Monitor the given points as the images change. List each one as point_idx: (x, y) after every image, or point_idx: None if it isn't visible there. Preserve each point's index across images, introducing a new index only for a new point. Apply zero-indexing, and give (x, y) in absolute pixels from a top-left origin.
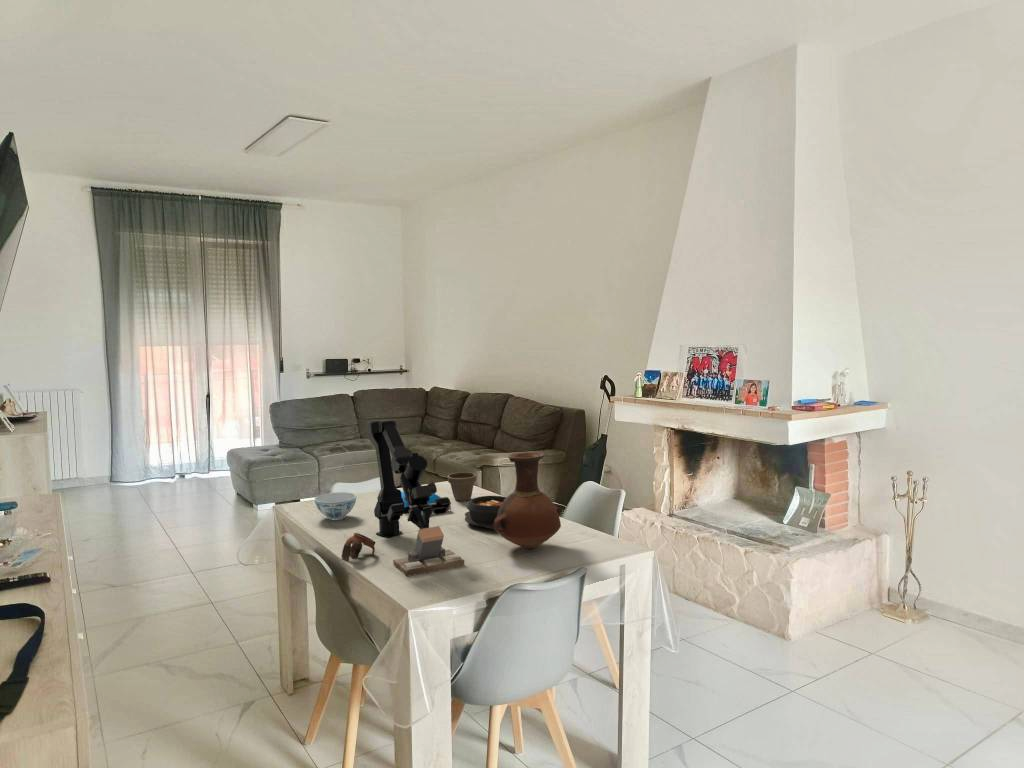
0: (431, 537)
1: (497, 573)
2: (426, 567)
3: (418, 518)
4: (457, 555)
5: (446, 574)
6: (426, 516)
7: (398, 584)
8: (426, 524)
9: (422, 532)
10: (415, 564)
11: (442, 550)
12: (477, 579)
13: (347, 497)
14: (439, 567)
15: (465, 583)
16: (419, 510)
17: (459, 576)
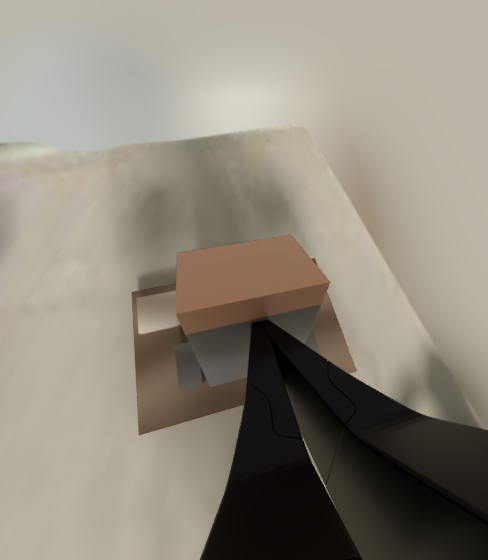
0: (249, 242)
1: (82, 211)
2: None
3: (376, 392)
4: (141, 317)
5: (209, 245)
6: (283, 431)
7: (326, 224)
8: (272, 354)
9: (300, 263)
10: None
11: (186, 343)
12: (148, 194)
13: None
14: None
15: (182, 183)
16: (486, 480)
17: (182, 223)
